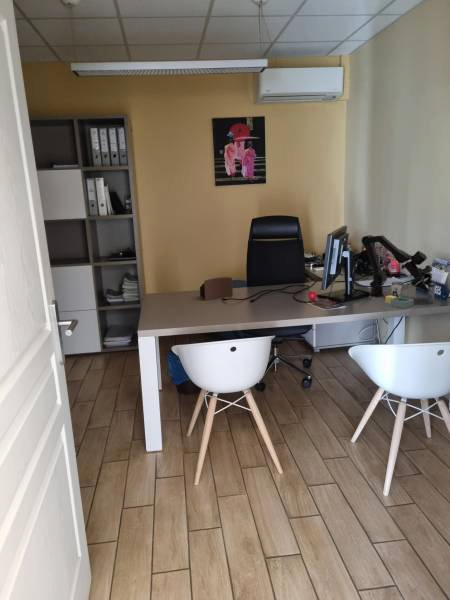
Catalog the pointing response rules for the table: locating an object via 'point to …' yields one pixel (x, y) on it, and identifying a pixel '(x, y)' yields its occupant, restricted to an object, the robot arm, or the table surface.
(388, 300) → the chock
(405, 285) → the mechanical component
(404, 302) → the parts tray
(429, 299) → the stop pin
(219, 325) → the table surface
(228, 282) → the letter holder
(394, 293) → the trolley castor
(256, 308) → the table surface
